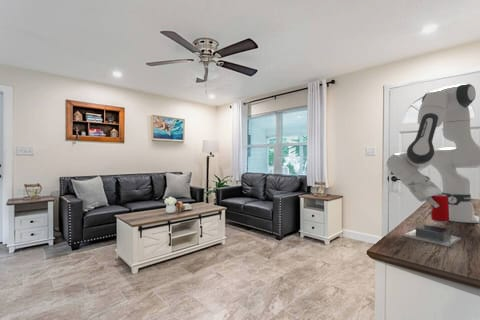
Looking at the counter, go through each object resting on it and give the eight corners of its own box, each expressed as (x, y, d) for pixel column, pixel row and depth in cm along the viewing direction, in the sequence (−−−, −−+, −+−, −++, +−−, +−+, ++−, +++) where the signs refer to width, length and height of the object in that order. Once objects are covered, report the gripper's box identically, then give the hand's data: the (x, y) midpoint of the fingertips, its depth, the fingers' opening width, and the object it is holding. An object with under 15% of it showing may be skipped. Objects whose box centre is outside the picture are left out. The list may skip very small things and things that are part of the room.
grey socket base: (417, 230, 112) (417, 222, 112) (460, 239, 100) (460, 230, 100) (404, 236, 104) (404, 227, 104) (448, 247, 92) (448, 236, 92)
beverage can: (442, 219, 113) (441, 193, 113) (453, 223, 107) (452, 195, 107) (428, 219, 113) (427, 193, 113) (437, 223, 107) (436, 195, 107)
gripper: (412, 179, 109) (439, 204, 102) (429, 176, 121) (454, 198, 113) (401, 188, 113) (426, 213, 105) (418, 184, 125) (442, 206, 117)
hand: (441, 205), depth 109 cm, fingers closed on beverage can, 6 cm apart
